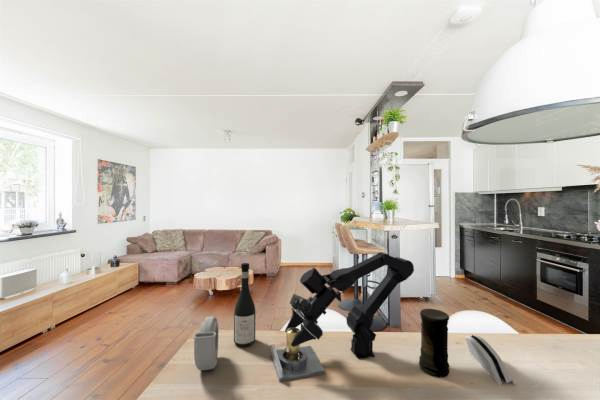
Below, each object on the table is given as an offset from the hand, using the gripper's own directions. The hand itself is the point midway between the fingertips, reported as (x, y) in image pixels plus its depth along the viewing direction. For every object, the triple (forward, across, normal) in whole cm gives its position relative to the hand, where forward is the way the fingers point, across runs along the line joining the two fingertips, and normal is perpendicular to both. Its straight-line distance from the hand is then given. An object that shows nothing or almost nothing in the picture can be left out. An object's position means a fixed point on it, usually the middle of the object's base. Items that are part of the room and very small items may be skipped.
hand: (288, 338), depth 90 cm
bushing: (+4, 0, +6) cm, 8 cm away
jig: (+4, 0, +8) cm, 9 cm away
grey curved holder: (+24, -6, -12) cm, 28 cm away
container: (-26, +14, +38) cm, 48 cm away
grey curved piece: (-38, +18, +50) cm, 65 cm away
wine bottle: (+16, -18, -3) cm, 24 cm away
